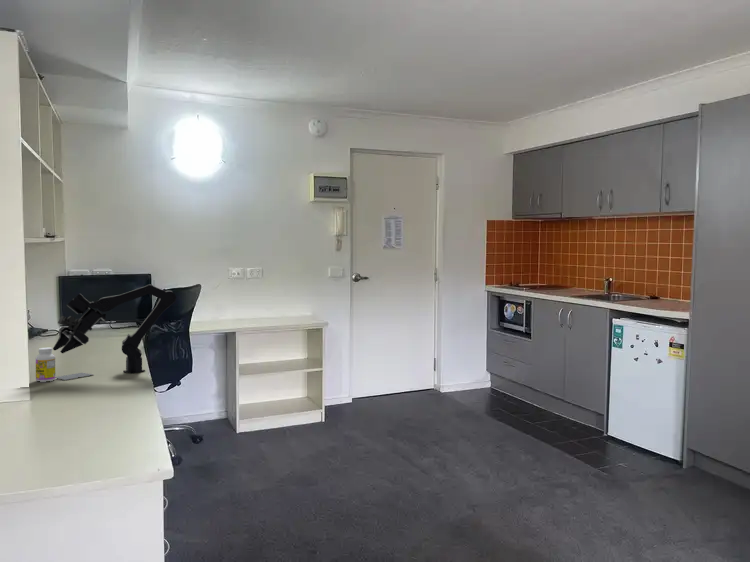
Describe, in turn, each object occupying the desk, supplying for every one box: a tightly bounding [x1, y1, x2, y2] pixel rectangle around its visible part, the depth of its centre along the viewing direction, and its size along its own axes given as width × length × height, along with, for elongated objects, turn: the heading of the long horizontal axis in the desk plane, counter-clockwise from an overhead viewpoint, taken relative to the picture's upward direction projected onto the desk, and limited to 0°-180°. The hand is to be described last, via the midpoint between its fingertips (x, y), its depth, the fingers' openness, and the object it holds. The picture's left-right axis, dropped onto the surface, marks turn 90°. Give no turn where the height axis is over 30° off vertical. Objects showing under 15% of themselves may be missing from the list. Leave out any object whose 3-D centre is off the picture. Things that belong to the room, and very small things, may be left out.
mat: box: [55, 372, 94, 381], centre depth 227 cm, size 8×12×1 cm, turn 149°
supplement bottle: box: [35, 347, 56, 383], centre depth 219 cm, size 7×7×13 cm
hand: (57, 351), depth 222 cm, fingers open, 9 cm apart
